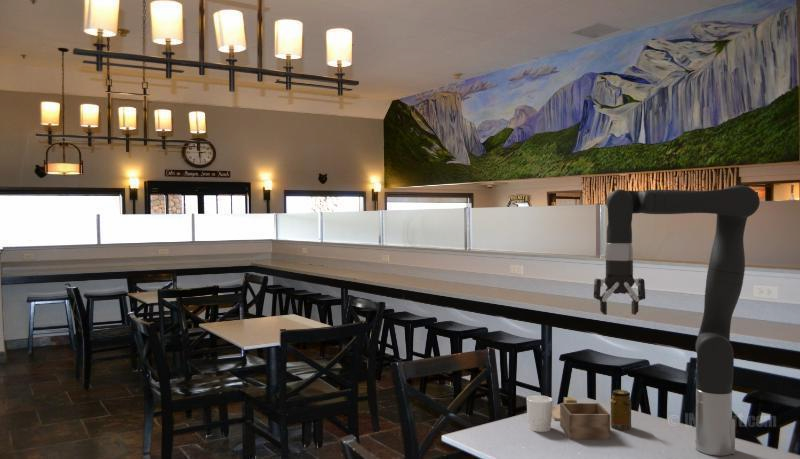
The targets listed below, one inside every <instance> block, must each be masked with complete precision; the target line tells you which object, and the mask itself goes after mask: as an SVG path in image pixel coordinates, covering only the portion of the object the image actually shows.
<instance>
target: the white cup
mask: <svg viewBox="0 0 800 459" xmlns="http://www.w3.org/2000/svg"><path fill="white" fill-rule="evenodd" d="M552 406H553V398H552V397H549V396H547V395H542V394H541V395H540V394H539V395H536V394H534V395H529V396H527V397H526V414H527V415H526V416H527V424H528V425H527V426H528V429H529V430H531V431H532V432H533V431H534V432H540V433H541V432H542V433H543V432H549V431H551V429H552V419H553V417H552Z"/></svg>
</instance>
